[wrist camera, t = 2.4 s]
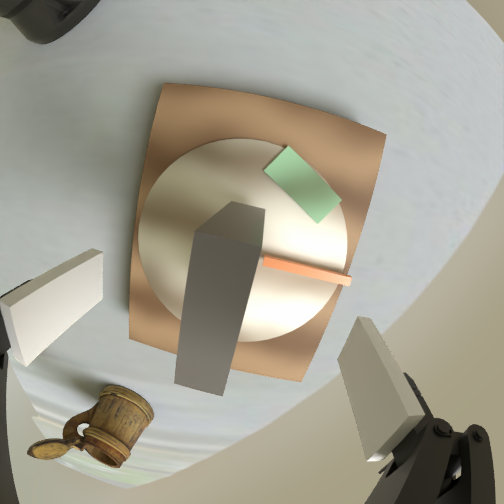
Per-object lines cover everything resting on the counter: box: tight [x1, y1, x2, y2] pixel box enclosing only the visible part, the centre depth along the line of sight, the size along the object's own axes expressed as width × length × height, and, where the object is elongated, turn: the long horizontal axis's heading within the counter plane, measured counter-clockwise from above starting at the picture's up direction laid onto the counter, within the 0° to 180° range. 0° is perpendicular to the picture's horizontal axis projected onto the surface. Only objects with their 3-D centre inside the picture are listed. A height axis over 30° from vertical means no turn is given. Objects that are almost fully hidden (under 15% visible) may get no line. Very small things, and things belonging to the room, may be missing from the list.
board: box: [129, 83, 386, 382], centre depth 23 cm, size 24×18×4 cm
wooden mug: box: [27, 385, 154, 468], centre depth 25 cm, size 9×14×18 cm, turn 68°
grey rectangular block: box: [174, 201, 352, 396], centre depth 16 cm, size 8×10×11 cm
